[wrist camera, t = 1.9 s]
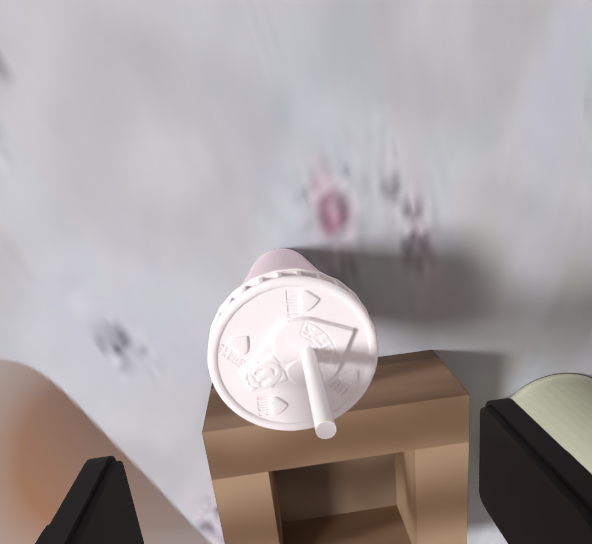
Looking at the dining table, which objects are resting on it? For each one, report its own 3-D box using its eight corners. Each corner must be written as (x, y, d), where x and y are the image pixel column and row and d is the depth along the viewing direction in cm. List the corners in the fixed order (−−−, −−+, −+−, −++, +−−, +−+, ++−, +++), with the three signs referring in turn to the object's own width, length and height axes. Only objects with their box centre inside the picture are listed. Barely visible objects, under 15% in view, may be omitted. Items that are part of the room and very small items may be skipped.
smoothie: (352, 298, 25) (458, 472, 12) (259, 346, 26) (258, 566, 12) (305, 204, 23) (366, 283, 10) (205, 257, 24) (133, 401, 10)
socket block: (212, 380, 26) (202, 432, 21) (432, 349, 27) (469, 394, 22) (244, 549, 30) (241, 625, 25) (433, 519, 31) (465, 588, 26)
